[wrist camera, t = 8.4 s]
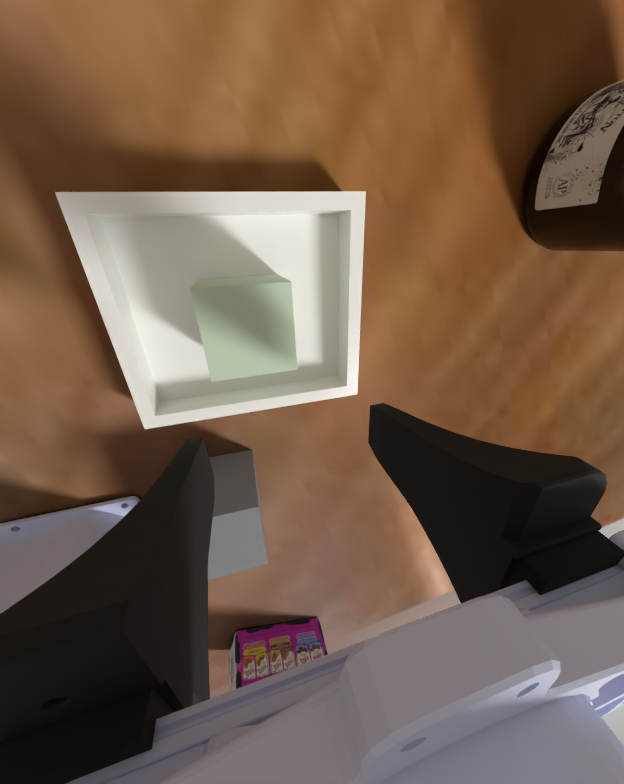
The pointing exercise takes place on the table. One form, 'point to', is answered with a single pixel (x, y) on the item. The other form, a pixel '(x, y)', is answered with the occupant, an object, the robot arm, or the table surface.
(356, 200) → the tray
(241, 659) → the candy bar box
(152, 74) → the table surface
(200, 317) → the sage block
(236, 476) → the gray block
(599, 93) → the ink bottle
